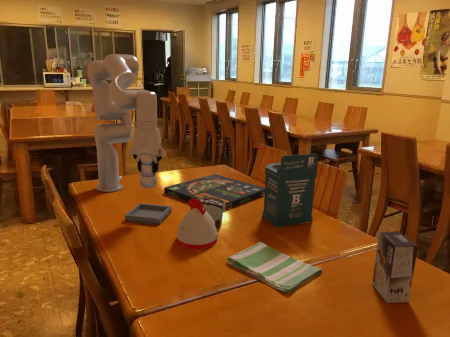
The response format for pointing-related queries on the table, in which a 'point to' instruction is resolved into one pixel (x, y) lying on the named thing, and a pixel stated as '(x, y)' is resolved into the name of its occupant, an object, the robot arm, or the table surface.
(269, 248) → the dish towel
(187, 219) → the kitchen timer
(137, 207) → the tray
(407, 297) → the coffee box
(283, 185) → the donation box
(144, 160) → the plastic bottle
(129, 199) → the table surface
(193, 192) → the pizza box
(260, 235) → the table surface
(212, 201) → the food container
